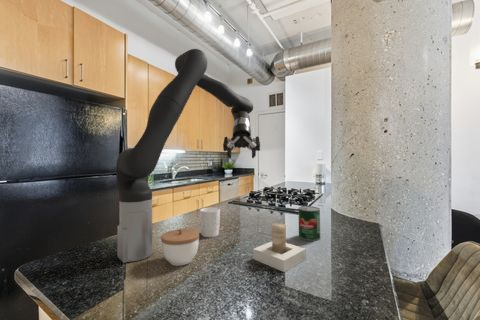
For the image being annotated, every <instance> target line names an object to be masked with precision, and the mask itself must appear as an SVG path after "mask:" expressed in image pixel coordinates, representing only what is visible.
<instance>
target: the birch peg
mask: <svg viewBox="0 0 480 320" xmlns="http://www.w3.org/2000/svg"><path fill="white" fill-rule="evenodd" d="M271 240H272V251H273V252H276V253H279V254H284V253H286V243H287V225H286V224H285V223H279V222H276V223H272V224H271Z"/></svg>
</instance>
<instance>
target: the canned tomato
mask: <svg viewBox="0 0 480 320" xmlns="http://www.w3.org/2000/svg"><path fill="white" fill-rule="evenodd" d="M297 209H298V213H297V214H298V238H300V239H301V240H304V241H309V242H310V241H311V242H312V241H313V242H316V241H319V240H321V238H322V237H321V208H320V207H317V206H311V205H309V206H307V205H302V206H299V207H298V208H297Z"/></svg>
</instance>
